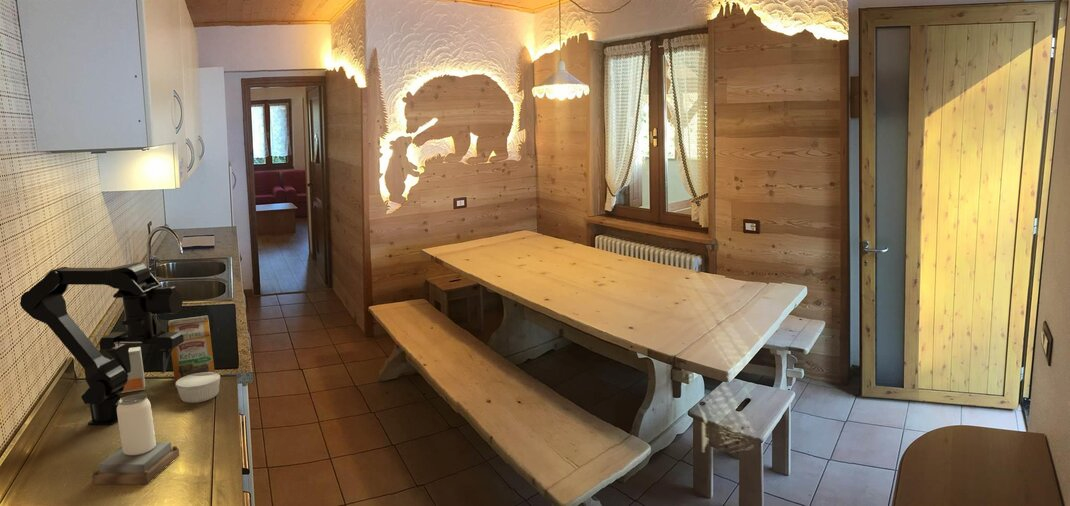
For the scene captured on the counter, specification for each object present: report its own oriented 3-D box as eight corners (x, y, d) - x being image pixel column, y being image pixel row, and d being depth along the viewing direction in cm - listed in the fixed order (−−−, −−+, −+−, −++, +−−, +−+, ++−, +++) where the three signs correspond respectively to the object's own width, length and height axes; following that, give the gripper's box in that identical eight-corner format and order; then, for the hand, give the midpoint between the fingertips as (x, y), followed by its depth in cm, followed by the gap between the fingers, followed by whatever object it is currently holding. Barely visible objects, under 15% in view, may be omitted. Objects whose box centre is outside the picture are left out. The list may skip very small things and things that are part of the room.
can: (140, 458, 146) (133, 406, 144) (115, 455, 147) (108, 404, 145) (163, 444, 152) (156, 394, 150) (139, 441, 154) (132, 392, 151)
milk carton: (214, 370, 209) (207, 311, 205) (215, 381, 199) (208, 320, 196) (176, 376, 204) (168, 316, 200) (175, 388, 195) (167, 325, 191)
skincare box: (120, 394, 191) (115, 354, 189) (122, 388, 195) (116, 349, 193) (145, 389, 194) (139, 350, 192) (146, 384, 198) (140, 346, 195)
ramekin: (224, 386, 196) (222, 369, 195) (219, 401, 185) (217, 383, 184) (181, 392, 192) (179, 374, 191) (174, 407, 182) (172, 389, 181)
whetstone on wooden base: (93, 483, 143) (90, 466, 143) (128, 456, 155) (126, 440, 154) (147, 484, 143) (145, 466, 142) (179, 456, 155) (177, 440, 154)
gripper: (191, 304, 176) (198, 361, 179) (122, 305, 177) (130, 361, 180) (167, 317, 165) (175, 376, 168) (93, 317, 166) (102, 377, 169)
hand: (146, 372), depth 171 cm, fingers open, 9 cm apart
